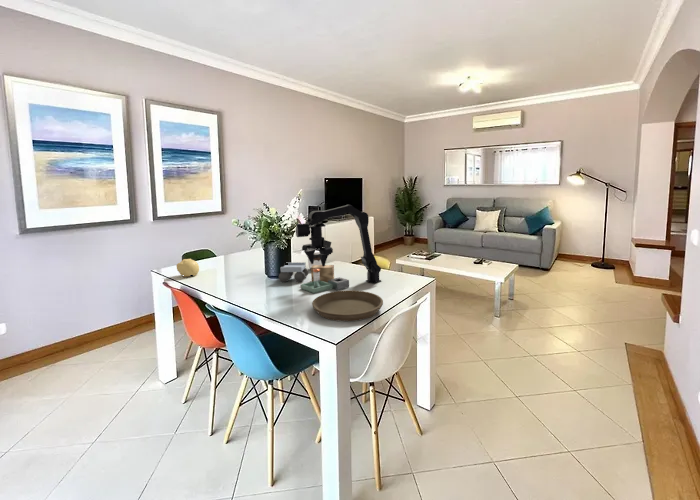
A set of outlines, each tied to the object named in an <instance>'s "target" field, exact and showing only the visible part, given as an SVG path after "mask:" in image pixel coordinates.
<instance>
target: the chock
mask: <svg viewBox="0 0 700 500" xmlns="http://www.w3.org/2000/svg"><path fill="white" fill-rule="evenodd" d="M313 269H320V280H321V281H324V282H327V283H328V280H330V279H335V265H334V264H325V266H322V265H313V266H312V267H311V269H310V274H311V282H313V281H314V276H313Z"/></svg>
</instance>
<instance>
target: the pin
mask: <svg viewBox="0 0 700 500" xmlns="http://www.w3.org/2000/svg"><path fill="white" fill-rule="evenodd" d="M313 276H314V288H318V287H320V269H313Z"/></svg>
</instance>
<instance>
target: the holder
mask: <svg viewBox="0 0 700 500" xmlns="http://www.w3.org/2000/svg"><path fill="white" fill-rule="evenodd" d="M328 283H330V284H333V289H332V290H334V291H342V290H344V289H348V288H350V279H346V278H343V277H341V276H340V277H334V279H330V280H328Z"/></svg>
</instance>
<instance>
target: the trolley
mask: <svg viewBox="0 0 700 500" xmlns="http://www.w3.org/2000/svg"><path fill="white" fill-rule="evenodd" d="M287 263H288V265H285V264H284V265H283V266H280V273H278V279H279V281H280V282H282V283H286V282H288V281H289V280H290V278H292V277H293V275H294V277H293V278H294V281H296V282H297V283H302V282H304V280H305V279H306V277H308V275H309V270H308V268H307V266H306V262H287Z"/></svg>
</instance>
